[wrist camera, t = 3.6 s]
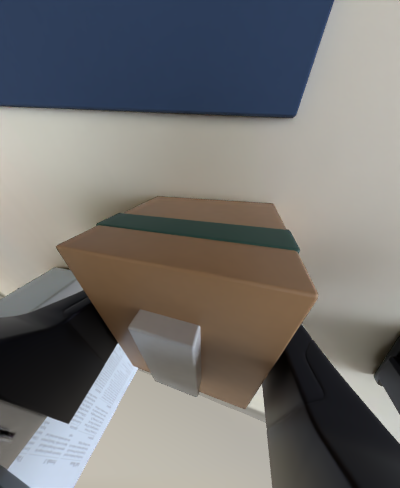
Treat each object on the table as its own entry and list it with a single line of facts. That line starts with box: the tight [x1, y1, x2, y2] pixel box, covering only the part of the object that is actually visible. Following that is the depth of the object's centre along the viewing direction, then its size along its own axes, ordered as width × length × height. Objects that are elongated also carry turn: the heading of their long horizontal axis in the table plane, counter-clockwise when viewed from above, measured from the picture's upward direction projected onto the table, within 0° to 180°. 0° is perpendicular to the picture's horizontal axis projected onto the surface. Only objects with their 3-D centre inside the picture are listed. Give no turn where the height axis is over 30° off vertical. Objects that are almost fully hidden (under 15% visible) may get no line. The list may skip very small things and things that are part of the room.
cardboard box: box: [56, 196, 318, 409], centre depth 8 cm, size 6×8×6 cm
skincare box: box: [0, 267, 138, 488], centre depth 15 cm, size 21×5×16 cm, turn 7°
